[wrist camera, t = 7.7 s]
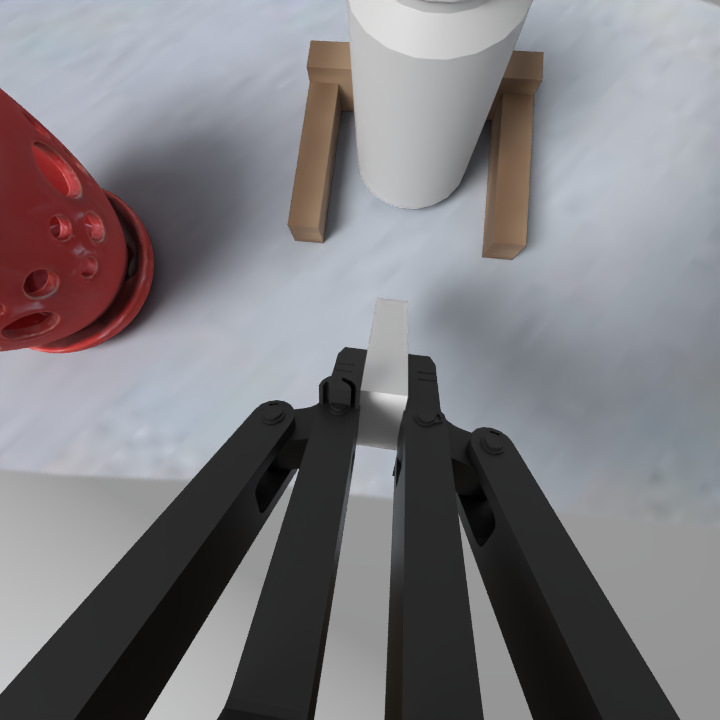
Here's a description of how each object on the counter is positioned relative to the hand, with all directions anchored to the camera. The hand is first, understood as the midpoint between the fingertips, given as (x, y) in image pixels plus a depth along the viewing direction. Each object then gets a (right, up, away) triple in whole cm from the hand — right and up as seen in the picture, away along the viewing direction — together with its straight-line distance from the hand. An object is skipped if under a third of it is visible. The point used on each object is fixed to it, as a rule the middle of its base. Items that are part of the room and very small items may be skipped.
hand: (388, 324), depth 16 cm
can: (+2, +12, +7) cm, 14 cm away
